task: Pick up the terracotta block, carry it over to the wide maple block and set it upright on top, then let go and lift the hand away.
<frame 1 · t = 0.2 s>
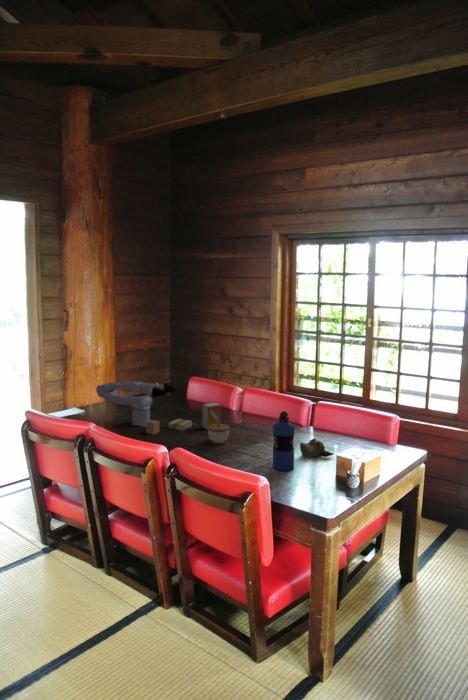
hand: (170, 391, 281), 21 cm above the table, fingers open, 7 cm apart
terracotta block: (152, 432, 279), on the table
water bottle: (283, 468, 229), on the table
lidded jar: (218, 442, 264), on the table
small box: (211, 428, 288), on the table
ceramic sculpture: (314, 456, 244), on the table
maple base block: (180, 428, 288), on the table
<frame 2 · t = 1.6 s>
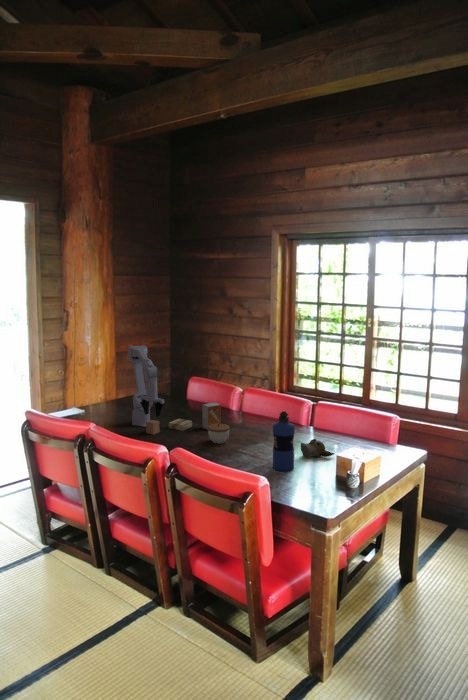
hand: (152, 415, 278), 9 cm above the table, fingers open, 7 cm apart
nothing on the table moved.
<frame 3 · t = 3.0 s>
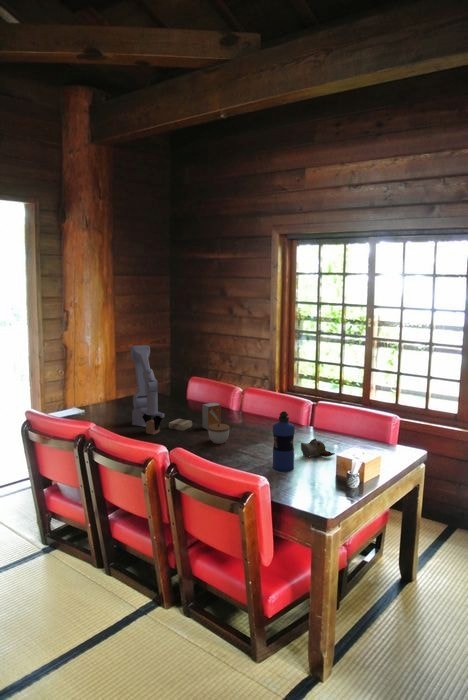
hand: (152, 429, 279), 2 cm above the table, fingers closed on terracotta block, 5 cm apart
terracotta block: (152, 432, 279), on the table, touching gripper
everything else where it was.
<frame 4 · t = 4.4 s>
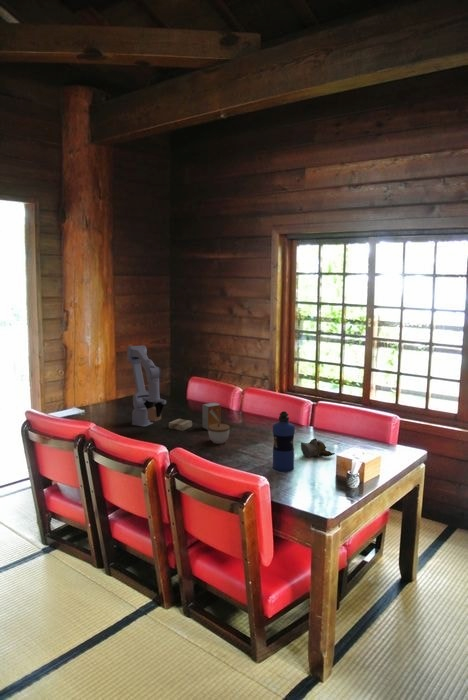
hand: (154, 415, 278), 9 cm above the table, fingers closed on terracotta block, 5 cm apart
terracotta block: (154, 419, 279), point 7 cm above the table, touching gripper
everything else where it was.
when the fingers open (7 cm above the table, at t = 6.2 s): terracotta block drops 1 cm, resting on maple base block.
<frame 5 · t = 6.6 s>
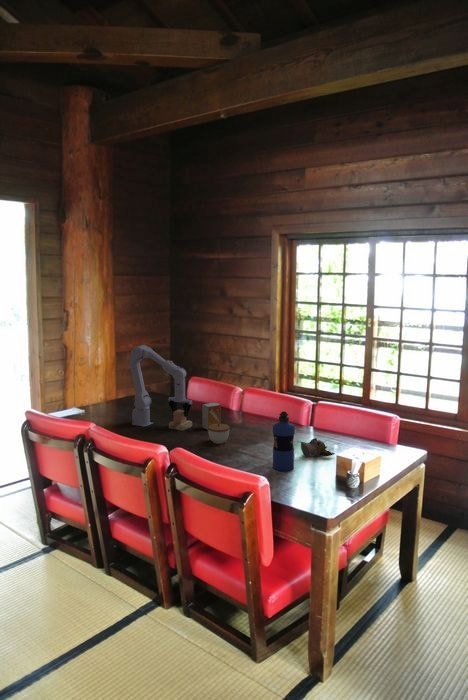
hand: (180, 415, 287), 7 cm above the table, fingers open, 7 cm apart
terracotta block: (179, 421, 288), point 3 cm above the table, touching maple base block
maple base block: (180, 428, 288), on the table, touching terracotta block
everything else where it was.
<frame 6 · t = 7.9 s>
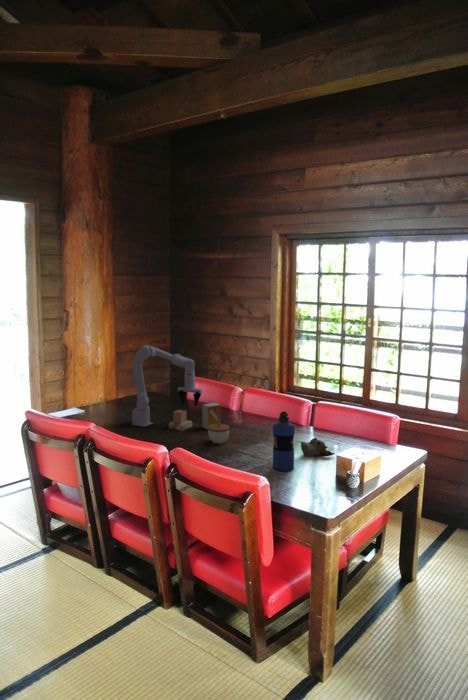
hand: (190, 404, 294), 10 cm above the table, fingers open, 7 cm apart
terracotta block: (180, 421, 288), point 3 cm above the table
maple base block: (180, 428, 288), on the table
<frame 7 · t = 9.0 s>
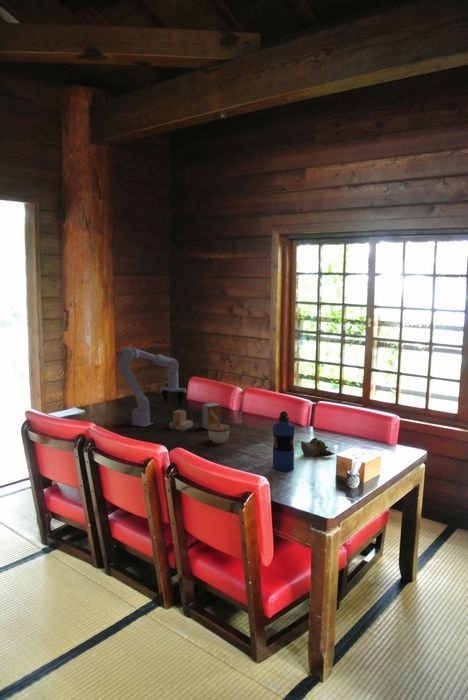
hand: (173, 404, 296), 10 cm above the table, fingers open, 7 cm apart
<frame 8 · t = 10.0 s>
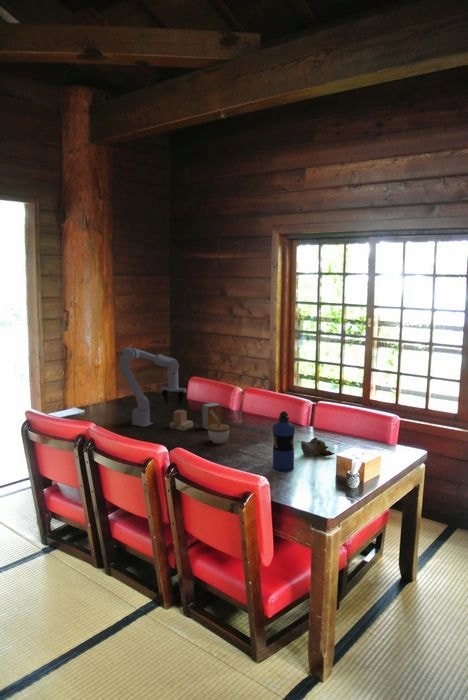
hand: (173, 404, 296), 10 cm above the table, fingers open, 7 cm apart
at the end: terracotta block 0.6 cm off-centre on the maple base block, point 3.5 cm above the maple base block's base; terracotta block tilted 0°; the gripper is holding nothing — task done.
